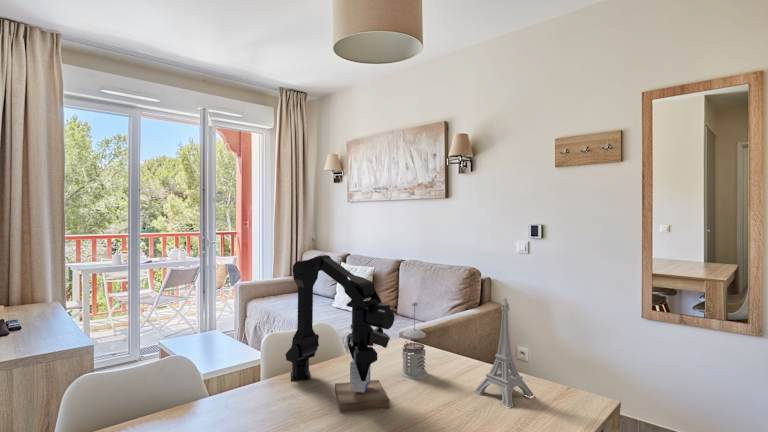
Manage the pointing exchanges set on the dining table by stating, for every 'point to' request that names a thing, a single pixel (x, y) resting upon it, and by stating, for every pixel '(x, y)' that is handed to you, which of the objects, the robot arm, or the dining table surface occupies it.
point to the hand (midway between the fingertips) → (360, 375)
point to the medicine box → (358, 379)
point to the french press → (417, 358)
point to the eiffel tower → (504, 365)
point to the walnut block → (361, 397)
